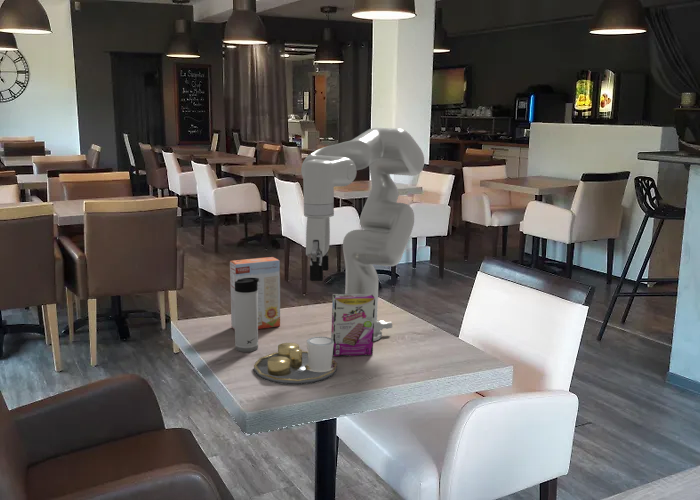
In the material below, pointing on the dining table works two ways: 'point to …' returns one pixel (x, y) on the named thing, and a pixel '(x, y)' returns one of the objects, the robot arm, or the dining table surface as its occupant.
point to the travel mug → (246, 314)
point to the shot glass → (320, 353)
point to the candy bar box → (353, 324)
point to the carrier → (290, 367)
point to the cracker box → (259, 288)
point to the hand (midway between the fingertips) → (319, 275)
